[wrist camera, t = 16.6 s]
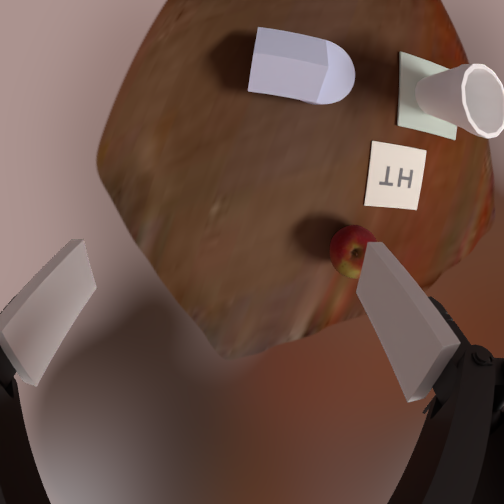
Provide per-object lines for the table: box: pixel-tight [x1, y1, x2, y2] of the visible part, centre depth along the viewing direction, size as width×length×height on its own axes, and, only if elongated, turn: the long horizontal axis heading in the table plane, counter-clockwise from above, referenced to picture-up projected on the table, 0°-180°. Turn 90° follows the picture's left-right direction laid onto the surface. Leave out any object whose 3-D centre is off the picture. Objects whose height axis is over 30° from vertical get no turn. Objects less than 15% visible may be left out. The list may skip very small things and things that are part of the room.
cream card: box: [364, 141, 426, 210], centre depth 39 cm, size 10×10×1 cm
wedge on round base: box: [248, 27, 355, 105], centre depth 29 cm, size 9×7×13 cm
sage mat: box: [397, 52, 457, 140], centre depth 32 cm, size 12×12×1 cm
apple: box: [330, 225, 377, 279], centre depth 40 cm, size 8×8×8 cm
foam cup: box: [415, 64, 504, 139], centre depth 26 cm, size 10×9×13 cm
